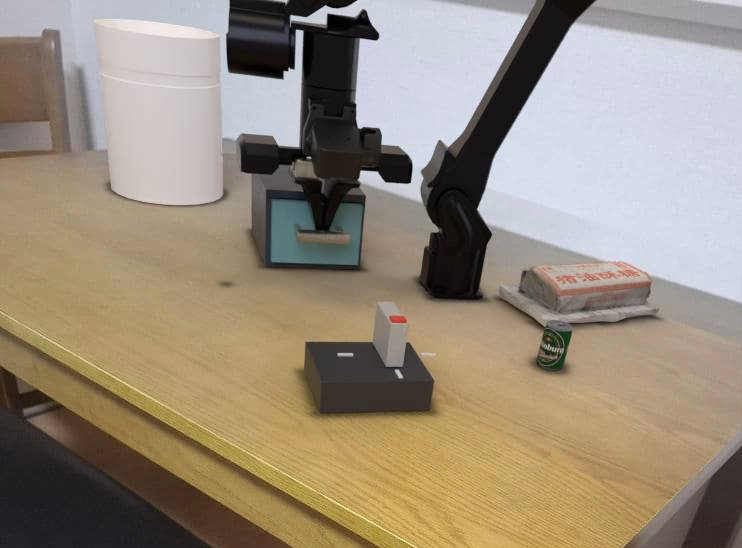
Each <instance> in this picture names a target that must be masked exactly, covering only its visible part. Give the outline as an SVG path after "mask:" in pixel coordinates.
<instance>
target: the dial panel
mask: <svg viewBox="0 0 742 548" xmlns="http://www.w3.org/2000/svg"><path fill="white" fill-rule="evenodd" d="M373 334H374V332H373ZM304 345H305V346H304V360H303V361H304V362H303V363H304V365H303V372H304V375H305V377H306V381H307V384H308V385H309V388H310V391H311V393H312V396H313V398H314V401H315V404H316V407H317V409H318V412H319V414H344V413H345V414H346V413H347V414H348V413H382V412H383V413H384V412H385V413H386V412H425V411H430V410H431V405H432V400H433V399H432V398H433V392H434V385H435V379H434V378H433V376H432V374H431V373H430V372H429V370H428V368H427V366H426V365H425V364H424V362H423V360H422V359H421V358H420V357H436V356H437V355H436V353H435V352H420V353H419V354H420V356H419V354H418V353H417V351H416V349H415V348H414V347H413V345H412V344H411V342H410V341H406V347H405V355H404V362H403V367H386V366H385V364H384V362H383V361H382V359H381V357H380V355H379V354H378V352H377V350H376V348H375V346H374V345H373V341H305V342H304Z"/></svg>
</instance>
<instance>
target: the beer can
mask: <svg viewBox="0 0 742 548" xmlns="http://www.w3.org/2000/svg"><path fill="white" fill-rule="evenodd" d="M546 324H547V325H546V326H545V327H544V329H543V333H542V335H541V340H540V345H539V348H538V352H537V357H536V363H537V364H538V366H539V367H541V368H542V369H544V370H547V371H558V370H561V369H562V368H563V367H564V365H565V362H566V358H567V353H568V350H569V347H570V343H571V339H572V335H573V329H574V328H573V326H572V325H571V323H566V322H563V321H559V320H550V321H548V322H547V323H546Z"/></svg>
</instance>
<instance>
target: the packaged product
mask: <svg viewBox="0 0 742 548" xmlns="http://www.w3.org/2000/svg"><path fill="white" fill-rule="evenodd" d="M652 283H653V279H652V278H651V276H650V275H649V273H648V272H647V271H643V269H640V268H638V267H636V266H634V265H632V264H631V263H628V262H626V261H621V260H620V261H616V260H615V261H606V262H605V261H598V262H596V261H595V262H581V263H579V262H578V263H577V262H576V263H561V264H546V265H532V266H527V267H525V268H524V269H522V271H521V274H520V280H519V283H510V284H499V288H498V289H499V291H498V293H499V294H498V297H499V298H501V299H502V300H503V301H505V302H507V303H508V304H510V305H512V306H514V307H515V308H518V309H519V310H520V311H522V312H524V313H525V314H526V315H529V316H530V317H532V318H533V319H535V320H536V322H538V323H539V324H540V325H542V327H544V328H545V326H546V325H547V324H546V323H547V322H548V321H550V320H559V321H563V322H566V323H568V324H580V323H581V324H582V323H595V322H610V323H611V322H613V323H616V322H619V321H621V320H624V319H629V318H637V317H644V316H645V317H646V316H655V315H657V314H658V313H659V311H660V307H658V306H657V305H654V304H652V303H650V302H649V301H647V299H649V298H650V296H651V294H652V290H651V287H652Z"/></svg>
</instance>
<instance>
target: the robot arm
mask: <svg viewBox="0 0 742 548" xmlns="http://www.w3.org/2000/svg"><path fill="white" fill-rule="evenodd" d="M228 1H229V3H228V4H229V5H228V6H229V8H228V22H227V23H228V26H227V32H226V34H225V47H226V48H225V49H226V65H227V73H228V74H236V75H241V76H250V77H257V78H266V79H275V80H281V81H285V72H288V73H289V71H290V70H294V71H295V70H296V55H297V54H296V51H297V31H302V54H301V77H300V78H301V81H300V82H301V83H300V87H301V88H300V111H299V140H298V146H291V145H279V144H278V142H277V140H276V139H275V138H274V136H273V135H267V134H253V133H242V132H241V133H240V134H239V135H238V137H236V140H235V160H236V163H237V165H238V168H239V170H240V172H241V173H244V174H251V175H252V174H265V175H272V174H273V173H274V172H275V171H276V170H277V169H278V168H279V165H288V166H290V167H288V173H289V175H290V176H291V178H292V180H293V181H294V183H295V184H298V185H301V186H302V189H303V191H304V194H305V197H306V200H307V203H308V207H309V210H310V214H311V218H312V222H313V226H314V229H315V230H329V229H330V227H331V224H332V222H333V219H334V217H335V214H336V212H337V210H338V207H339V206H340V204H341V202H342V200H343V198H344V197H345V195H346V194H347V193H348V192H349V191H350V190H351V189H352V188H361V185H362V184H361V181H360V180H359V179H360V178H361V172H374V173H375V172H376V173H377V174H378V175H379V177H380V178H381V179H382V181H384V183H386V184H389V183H390V184H401V185H402V184H403V185H404V184H405V185H409V184H412V178H413V170H414V165H413V159H412V158H411V156H410V155H409V154H408V153H407V152H406V151H405V150H404V149H403V148H401V147H400V146H399V145H391V144H382V142H383V133H382V130H381V128H379V127H371V126H362V127H361V128H360V127H359V126H358V122H357V121H358V120H357V113H358V112H357V105H358V104H357V103H356V100H357V99H356V98H357V85H358V71H359V59H360V58H359V57H360V45H361V42H360V41H361V40H368V41H374V42H375V41H378V40H380V33H379V31H378V30H377V29H376V27H374V26H373V23H372V22H371V19H370V17H369V14H368V11H367V10H366V9H365V8H362V9H360V11H359V13H357V14H356V15H355V16H352V15H351V16H350V15H343V14H335V13H329V12H327V13H326V22H325V23H316V22H308V21H300V20H291V17H292V16H293V17H294V16H295V17H301V18H308V17H310V16H312V15H313V14H315V13H317V11H319V10H321V9H322V8H324V7H329V8H330V9H337V10H338V9H343V8H347V7H349V6H351V5H353V4H355V3H356V2H357V1H358V0H286V1H284V0H283V1H282V0H228ZM597 1H598V0H535V3H534V5H533V7H532V8H531V10H530V12H529V13H528V16H527V17H526V20H525V21H524V22H523V25H522V26H521V28H520V30H519V32H518V34H517V35H516V37H515V39H514V41H513V43H512V44H511V46H510V47H509V50H508V51H507V53H506V55H505V57H504V59H503V60H502V62H501V64H500V66H499V67H498V69H497V71H496V73H495V74H494V76H493V78H492V79H491V82H490V84H489V85H488V87H487V89H486V91H485V92H484V94H483V96H482V98H481V100H480V102H479V103H478V105H477V107H476V108H475V110H474V112H473V114H472V116H471V118H470V119H469V121H468V123H467V125H466V127H464V130H463V131H462V133H461V134H460V135H459V136H458V137H457V138H456V139H455V140H453V142H452V143H451V144H450V145H449V146H447V144H445V142H444V141H443V140H442V139H439V140H437V142H436V145H435V147H434V150H433V152H432V155H431V158H430V160H429V161H428V162H427V164H426V166H424V167H423V168H422V169H420V175H421V176H422V181H421V184H420V189H419V190H420V191H419V192H420V198H421V202H422V204H423V206H424V209H425V210H426V214H427V217H428V218H429V219H430V221H431V223H432V224H434V226H435V227H436V228H437V230H438V231H436V232H433V231H432V232H429V233H430V234H429V241H428V245H425V246H424V248H423V252H422V253H423V255H422V261H421V268H420V274H419V278H418V280H419V281H420V282H421V283H422V285H423V286H424V288H426V290H427V291H428V293H429V294H430V295H431V296H432V298H433V297H434V298H439V299H480V300H481V299H484V295H485V294H484V292H482V290H480V285H481V282H482V281H481V280H482V274H483V271H484V264H485V260H486V254H487V249H488V244H489V242H490V240H491V238H492V236H493V232H492V231H491V229H490V228H489V226H488V224H487V222H486V221H485V220H484V218H483V216H482V215H481V213H480V211H479V210H478V209H479V206H480V205H481V202H482V199H483V196H484V194H485V192H486V190H487V186H488V181H489V179H490V174H491V169H492V166H493V163H494V159H495V158H496V155H497V153H498V151H499V149H500V148H501V146H502V144H503V143H504V141H505V139H506V138H507V136H508V134H509V133H510V131H511V130H512V128H513V126H514V124H515V123H516V121H517V119H518V117H519V116H520V114H521V112H522V111H523V109H524V107H525V106H526V104H527V102H528V100H529V99H530V98H531V96H532V94H533V92H534V91H535V89H536V87H537V85H538V84H539V82H540V80H541V79H542V78H543V76H544V73H545V72H546V70H547V69H548V67H549V65H550V63H551V62H552V61H553V58H554V57H555V55H556V53H557V52H558V50H559V48H560V47H561V45H562V43H563V42H564V39H565V38H566V36H567V35H568V32H569V31H570V29H571V28H572V26H573V25H574V24H575V23H576V22H577V21H578V20H579V18H580V17H582V16H583V15H584V14H585V13H586V12H587V11H588V10H589V9H590V8H591V7H592V6H593V5H594V4H595V3H596V2H597ZM289 69H290V70H289ZM320 178H321V179H325V182H324V191H323V200H322V204H321V191H322V181H321V179H320Z"/></svg>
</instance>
